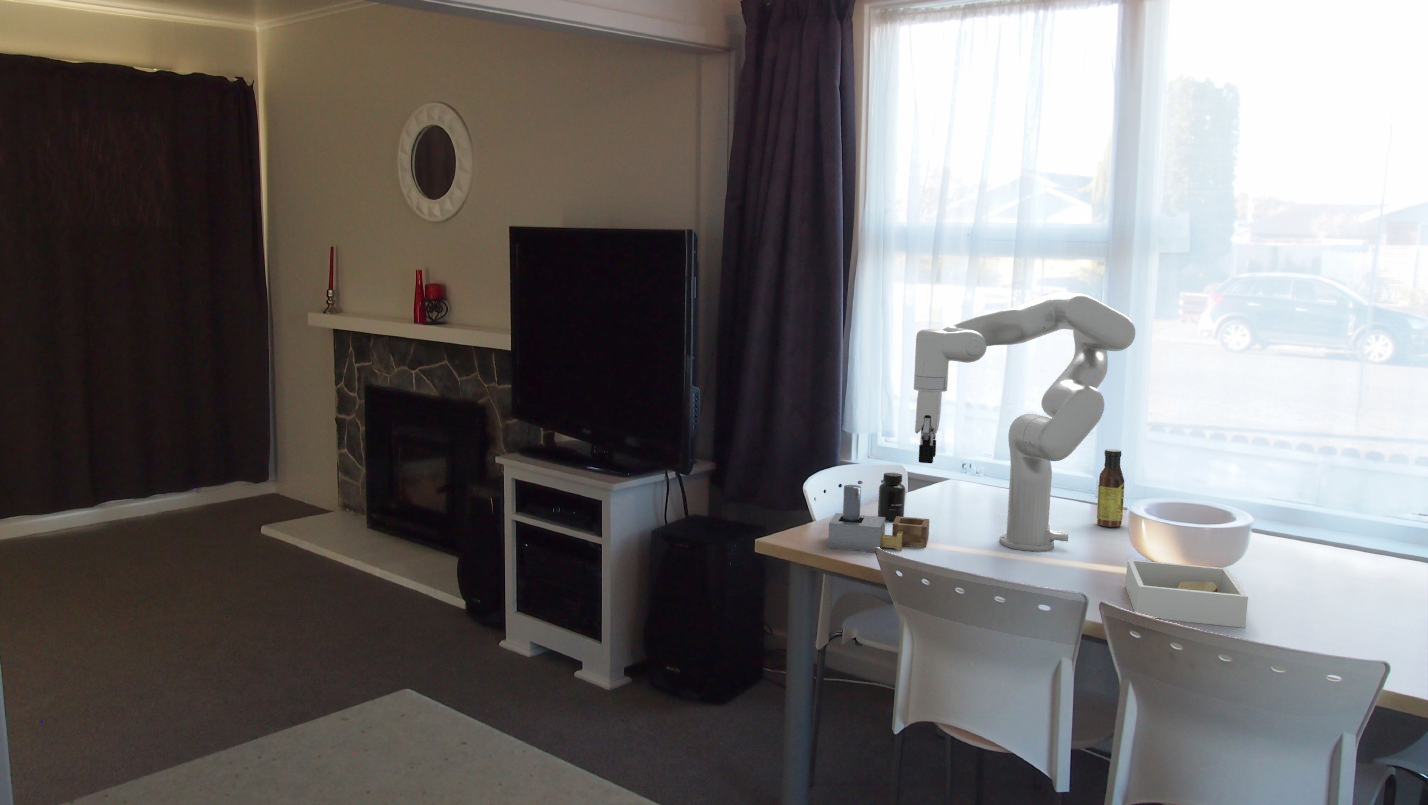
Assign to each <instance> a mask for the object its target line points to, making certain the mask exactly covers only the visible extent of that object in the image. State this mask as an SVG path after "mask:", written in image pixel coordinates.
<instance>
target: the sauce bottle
mask: <svg viewBox="0 0 1428 805" xmlns="http://www.w3.org/2000/svg"><path fill="white" fill-rule="evenodd" d="M1121 457H1122V450H1120V449H1114V448H1107V449H1105V450H1104V467H1103V469H1102V470H1101V472H1100V473H1099V476H1098V477H1099V481H1098V487H1097V488H1098V491H1097V507H1096V508H1097V510H1096V513H1097V514H1096V519H1097V521H1096V523H1097V525H1099V526H1101V527H1105V528H1119V527H1121V526H1122V522H1123V513H1124V499H1125V498H1124V497H1125V478H1124V474H1123V470H1122V467H1121Z"/></svg>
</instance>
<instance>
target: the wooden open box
mask: <svg viewBox="0 0 1428 805" xmlns="http://www.w3.org/2000/svg"><path fill="white" fill-rule="evenodd" d="M898 531H902V532H903V547H904V546H905V547H914V548H915V547H916V548H925V549H926V548H927V546H928V542H929V537H930V536H929V535H930V532H929V531H930V518H923V517H922V518H920V517H909V516H904V517H899V516H896V518H895V520H894V522H893V523H892V533H891V535H893V536H897V533H898Z"/></svg>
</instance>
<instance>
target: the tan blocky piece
mask: <svg viewBox="0 0 1428 805" xmlns="http://www.w3.org/2000/svg"><path fill="white" fill-rule="evenodd" d="M903 547H904V546H903V532H902V531H898V533H897V536H893V535H892V534H891V535H890V534H885V535H882V541H881V548H887V549H895V551H902V549H903Z"/></svg>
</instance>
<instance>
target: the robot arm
mask: <svg viewBox="0 0 1428 805" xmlns="http://www.w3.org/2000/svg"><path fill="white" fill-rule="evenodd" d="M1060 330H1070V331H1071V330H1072V331H1073V335H1072V336H1073V340H1074V341H1073V342H1074V354H1073V358H1072V359H1071V361H1070V363H1068V365H1067V366H1066V368H1065V369H1064V370H1063V371H1062V373H1060V375H1059V376H1058V377H1057V378H1056V379H1055V381H1054V382H1053V383H1052V384H1051V385H1050V386H1049V387H1048V388H1047V390H1046V391H1045V393H1044V394H1043V395H1042V398H1041V408H1042V410H1043V412H1044V413H1045V414H1046V415H1047V416H1048V417H1047V416H1045V415H1044V416H1043V415H1040V414H1037V413H1025V414H1022V415H1019V416H1017V417H1016V418H1015V419H1014V420H1013V421H1012V423H1011V424H1010V427H1009V430H1008V436H1007V437H1008V448H1009V455H1010V457H1009V459H1010V467H1009V468H1010V472H1009V486H1008V501H1007V502H1008V505H1007V506H1008V507H1007V516H1006V517H1007V518H1006V519H1007V520H1006V521H1007V522H1006V533H1004V534H1002V535H1000V536H999V543H1000V544H1001V545H1003V546H1004V547H1007V548H1011V549H1015V550H1021V551H1029V552H1040V551H1041V552H1043V551H1049V550H1051V549H1054V548H1055V541H1060V542H1066V543H1067V542H1069V533H1066V532H1063V531H1055V530H1052V529H1051V528H1050V527H1051V526H1050V524H1049V523H1050V522H1049V521H1050V511H1051V510H1050V507H1051V495H1052V494H1051V491H1052V478H1053V477H1052V476H1053V472H1052V471H1053V470H1052V468H1053V467H1052V463H1051V462H1060V461H1063V460H1064V459H1067V457H1069V456H1070V455H1071V454H1072V453H1073V452H1074V451H1076V449H1077V448H1078V447H1079V446H1080V444H1081V443H1082V442H1083V441H1084V440H1085V439H1086V438H1087V436H1088V435H1090V433H1091V431H1093V429H1094V428H1095V427H1096V425H1098V423H1099V422H1100V420H1101V418H1102V417H1103V414H1104V411H1105V399H1104V396H1103V394H1102V392H1101V391H1100V390H1098V388H1099V387H1100V386H1101V383H1102V382H1104V379H1105V378H1106V376H1107V372H1108V367H1109V366H1108V365H1109V362H1108V361H1109V360H1108V359H1109V358H1108V351H1109V352H1121V351H1124V350H1126V349H1128V348H1129V347H1131V345H1132V344H1133V343H1134V341H1135V338H1136V328H1135V325H1134V323H1133V321H1132V320H1131V319H1130V318H1129V317H1128V316H1127V315H1125V314H1124V313H1121V312H1120V311H1117V310H1116V309H1113V308H1112V307H1110V306H1108V305H1107V304H1104V303H1103V302H1102V301H1101V302H1100V300H1097V299H1096V298H1094V297H1091V296H1089V295H1087V294H1086V293H1085V294H1083V293H1077V292H1064V291H1063V292H1055V293H1050V294H1048V295H1045V296H1042V297H1040V298H1036V299H1035V300H1034V299H1033V300H1032V301H1029V302H1025V303H1023V304H1020V305H1017V306H1014V307H1011V308H1008V309H1004V310H999V311H996V312H992V313H988V314H984V315H981V316H976V317H973V318H969V319H966V320H962V321H960V322H957V323H954V324H952V325H949V326H947V327H945V328H943V329H932V328H931V329H927V328H926V329H921V330H918V332H917V334H916V337H915V355H914V377H913V390H915V391H918V392H917V397H916V412H915V425H914V426H915V427H914V428H915V429H914V433H915V434H919V432H920V441H919V445H918V446H919V447H918V463H921V464H933V463H934V458H935V457H936V451H937V450H936V449H937V439H936V435H937V433H938V431H939V426H940V420H941V410H942V395H943V392H944V393H945V392H947V391H948V382H949V381H948V380H949V362H951V361H952V362H958V363H959V362H960V363H975V362H978V361H979V360H980V359H982V358H983V357H984V355H985V354H986V352H987V347H992V346H1010V345H1011V346H1012V345H1017V344H1024V343H1026V342H1029V341H1033V340H1034V339H1038V338H1040V337H1042V336H1046V335H1047V334H1051V333H1054V332H1057V331H1060ZM1050 417H1051V418H1050Z"/></svg>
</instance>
